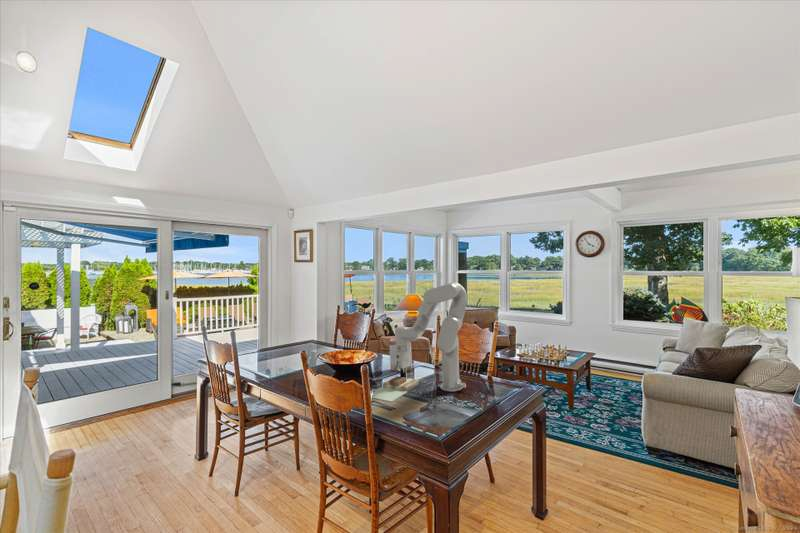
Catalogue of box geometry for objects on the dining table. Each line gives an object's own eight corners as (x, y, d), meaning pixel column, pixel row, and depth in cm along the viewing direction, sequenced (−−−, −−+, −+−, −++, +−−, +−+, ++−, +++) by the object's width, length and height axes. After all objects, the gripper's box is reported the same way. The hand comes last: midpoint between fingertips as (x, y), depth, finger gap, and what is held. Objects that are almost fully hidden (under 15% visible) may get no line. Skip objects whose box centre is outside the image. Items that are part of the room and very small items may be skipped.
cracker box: (412, 368, 255) (410, 337, 255) (411, 371, 249) (410, 339, 249) (391, 368, 257) (390, 338, 256) (390, 371, 251) (389, 340, 250)
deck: (418, 384, 223) (418, 379, 222) (406, 391, 211) (406, 387, 211) (396, 380, 231) (396, 376, 231) (383, 387, 219) (382, 383, 219)
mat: (407, 392, 210) (407, 391, 210) (391, 401, 196) (391, 401, 196) (381, 387, 220) (381, 386, 220) (364, 396, 206) (364, 395, 206)
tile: (406, 381, 220) (406, 377, 220) (398, 386, 213) (397, 382, 213) (397, 380, 224) (397, 376, 224) (389, 384, 216) (388, 380, 216)
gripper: (400, 351, 215) (401, 383, 215) (414, 345, 227) (415, 376, 228) (389, 350, 219) (390, 381, 219) (403, 344, 231) (404, 374, 232)
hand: (403, 378), depth 223 cm, fingers closed
